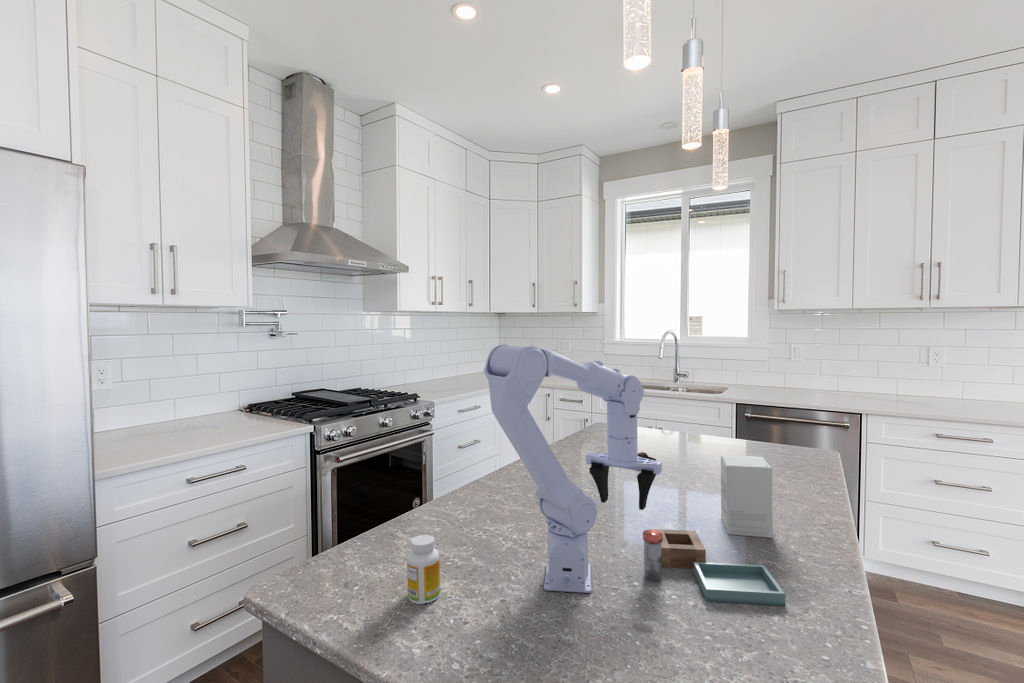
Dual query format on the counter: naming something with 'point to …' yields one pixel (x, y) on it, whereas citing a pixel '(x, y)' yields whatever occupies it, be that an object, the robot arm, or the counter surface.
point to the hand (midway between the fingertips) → (623, 504)
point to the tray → (738, 583)
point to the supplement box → (746, 496)
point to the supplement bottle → (423, 570)
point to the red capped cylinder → (652, 555)
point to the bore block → (681, 548)
